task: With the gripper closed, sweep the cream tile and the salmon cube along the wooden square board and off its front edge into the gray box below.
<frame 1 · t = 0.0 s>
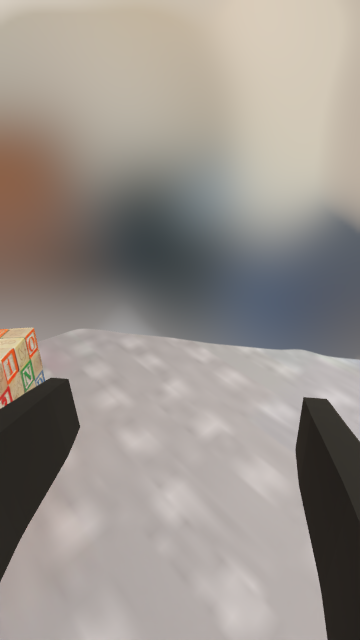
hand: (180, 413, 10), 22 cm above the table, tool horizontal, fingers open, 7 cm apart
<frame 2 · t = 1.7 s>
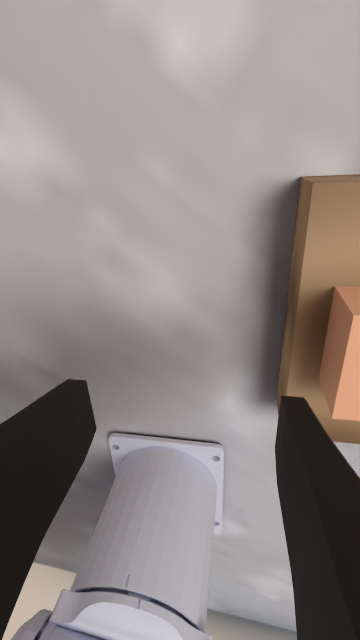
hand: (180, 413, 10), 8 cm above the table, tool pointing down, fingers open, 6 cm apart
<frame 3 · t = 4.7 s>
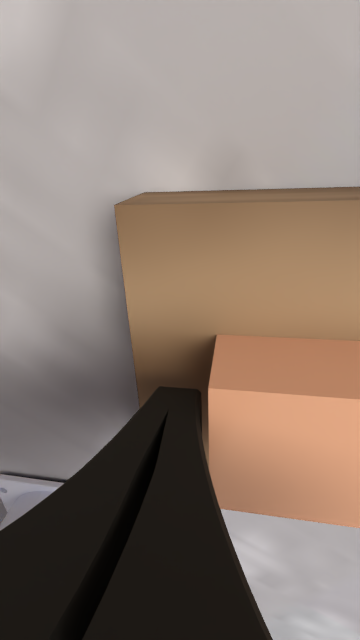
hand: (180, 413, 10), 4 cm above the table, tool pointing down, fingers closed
wooden square board: (303, 349, 13), on the table
salmon cube: (284, 397, 11), point 3 cm above the table, touching cream tile, gripper
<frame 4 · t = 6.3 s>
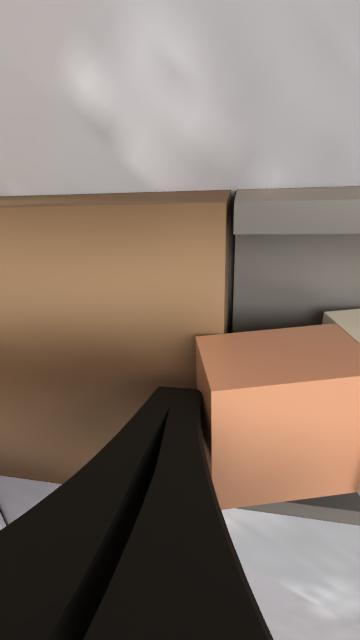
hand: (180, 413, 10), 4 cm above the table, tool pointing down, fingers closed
wooden square board: (91, 337, 15), on the table
cream tile: (348, 408, 10), point 3 cm above the table, tilted 106°, touching gray box, salmon cube
salmon cube: (261, 387, 11), point 3 cm above the table, tilted 16°, touching cream tile, gripper, wooden square board
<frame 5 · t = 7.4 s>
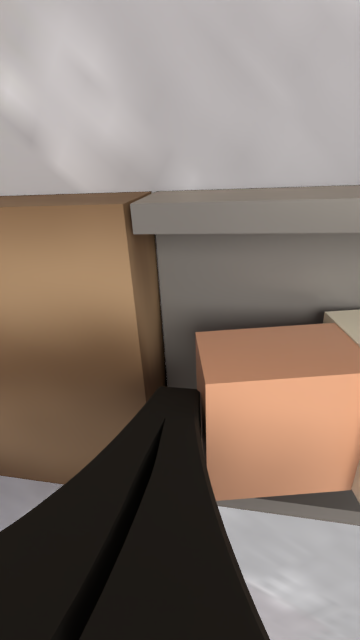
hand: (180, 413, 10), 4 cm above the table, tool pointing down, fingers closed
wooden square board: (36, 334, 15), on the table
cream tile: (346, 408, 10), point 3 cm above the table, tilted 103°, touching gray box, salmon cube
salmon cube: (260, 383, 11), point 2 cm above the table, tilted 13°, touching cream tile, gripper
gray box: (316, 349, 13), on the table
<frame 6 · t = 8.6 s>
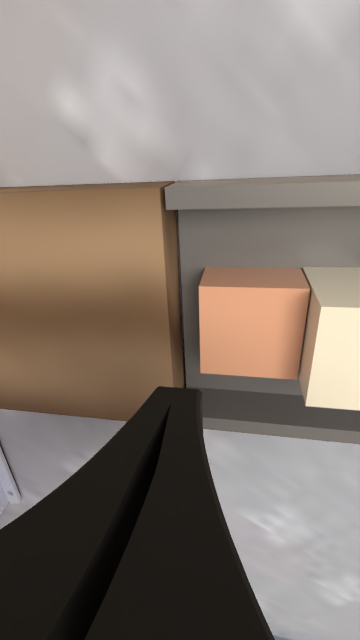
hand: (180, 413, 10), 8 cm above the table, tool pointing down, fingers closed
wooden square board: (77, 298, 19), on the table
cream tile: (303, 331, 14), point 3 cm above the table, tilted 90°, touching gray box
salmon cube: (249, 309, 17), point 1 cm above the table, touching gray box
gray box: (301, 305, 17), on the table
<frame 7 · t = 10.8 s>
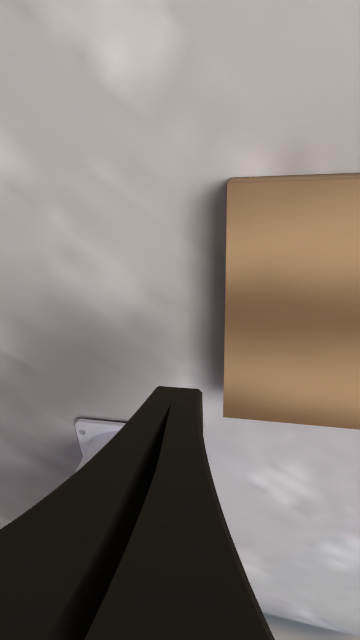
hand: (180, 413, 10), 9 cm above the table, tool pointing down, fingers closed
wooden square board: (344, 298, 17), on the table
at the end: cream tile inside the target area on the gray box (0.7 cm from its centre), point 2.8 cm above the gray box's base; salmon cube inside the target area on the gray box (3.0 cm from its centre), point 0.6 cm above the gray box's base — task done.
